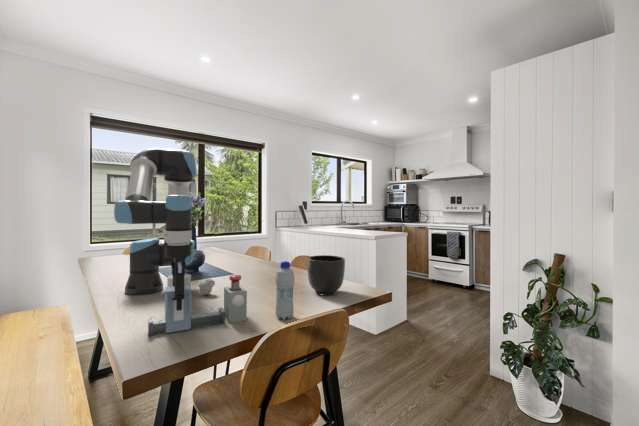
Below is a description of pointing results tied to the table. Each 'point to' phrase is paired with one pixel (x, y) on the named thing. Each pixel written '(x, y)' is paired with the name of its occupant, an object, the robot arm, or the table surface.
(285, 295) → the bottle
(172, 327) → the carriage
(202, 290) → the frog figurine
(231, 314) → the cabinet
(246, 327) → the table surface
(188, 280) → the cup
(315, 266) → the planter
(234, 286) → the plunger
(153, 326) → the rail
